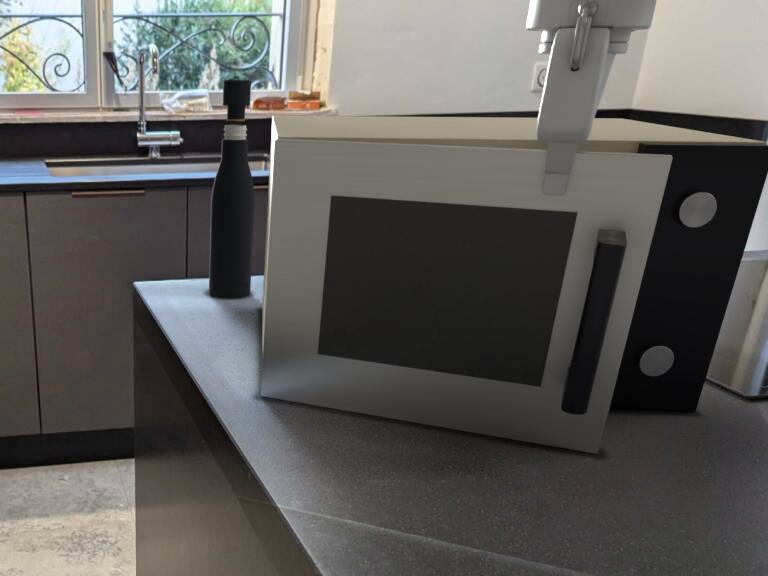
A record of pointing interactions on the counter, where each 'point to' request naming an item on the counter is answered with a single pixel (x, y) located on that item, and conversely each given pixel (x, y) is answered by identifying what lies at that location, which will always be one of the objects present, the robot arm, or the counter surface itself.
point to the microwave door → (456, 284)
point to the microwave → (669, 243)
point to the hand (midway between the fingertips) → (554, 192)
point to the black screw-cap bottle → (232, 202)
